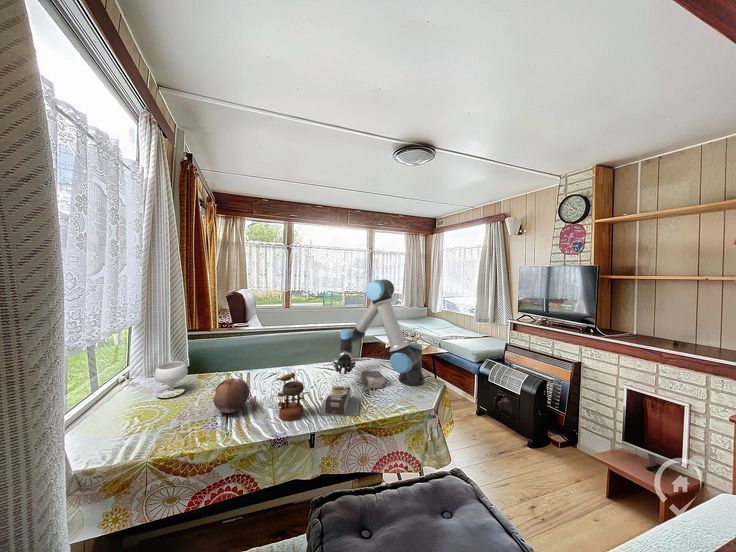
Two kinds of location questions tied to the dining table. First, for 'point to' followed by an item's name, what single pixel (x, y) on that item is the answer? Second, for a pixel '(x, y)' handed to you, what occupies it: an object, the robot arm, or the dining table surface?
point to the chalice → (171, 373)
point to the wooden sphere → (231, 395)
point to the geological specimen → (373, 379)
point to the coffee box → (337, 400)
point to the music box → (291, 409)
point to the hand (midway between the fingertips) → (342, 375)
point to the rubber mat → (350, 410)
